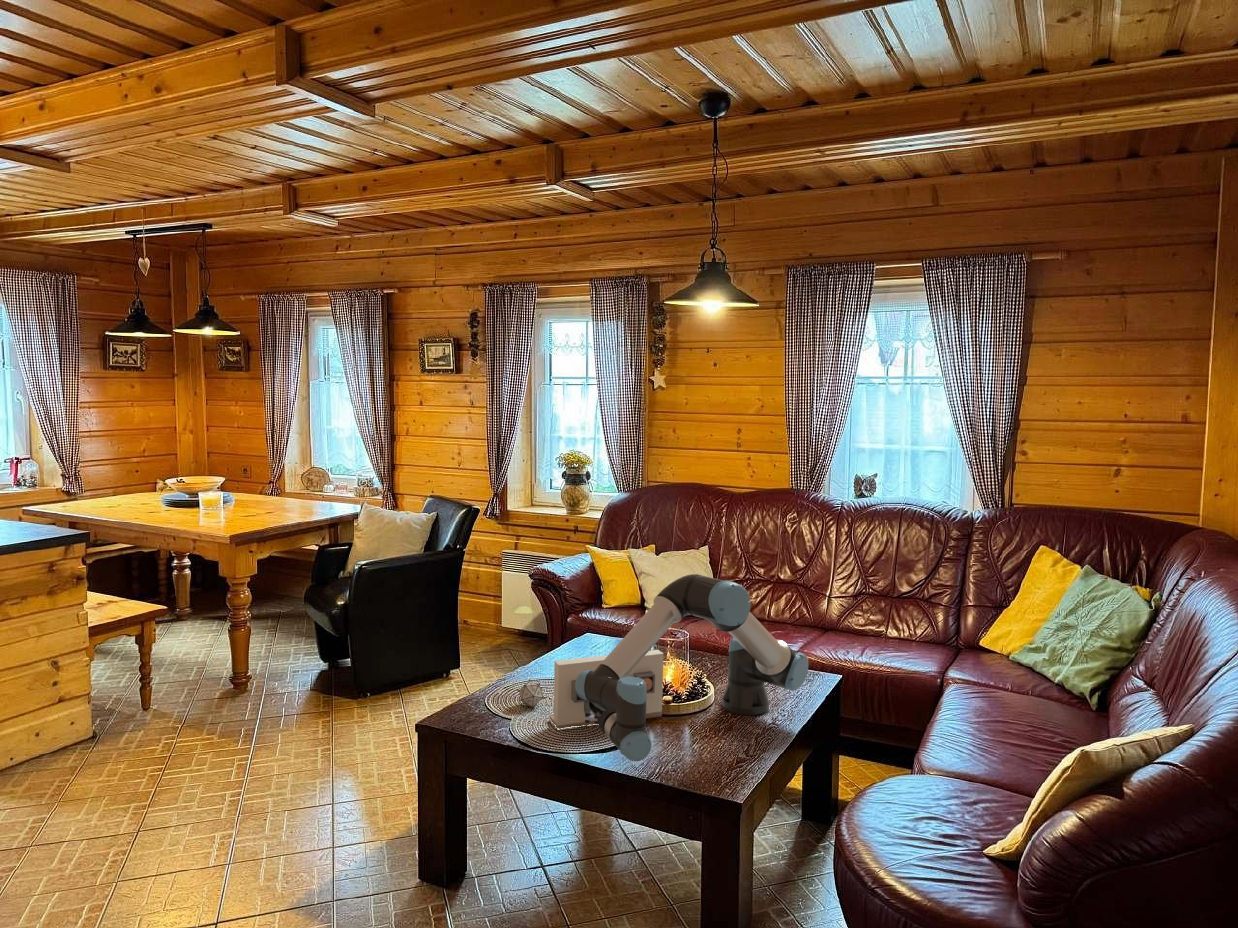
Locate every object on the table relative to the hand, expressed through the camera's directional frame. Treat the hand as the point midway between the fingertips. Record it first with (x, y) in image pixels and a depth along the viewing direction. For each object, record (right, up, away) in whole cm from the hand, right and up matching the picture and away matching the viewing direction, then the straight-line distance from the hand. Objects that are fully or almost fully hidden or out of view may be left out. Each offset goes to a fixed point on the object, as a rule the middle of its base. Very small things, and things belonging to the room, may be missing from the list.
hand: (587, 694), depth 243 cm
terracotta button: (+17, -2, +11) cm, 20 cm away
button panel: (+6, -11, +12) cm, 18 cm away
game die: (-19, -10, +23) cm, 31 cm away
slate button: (-1, -2, +4) cm, 4 cm away
